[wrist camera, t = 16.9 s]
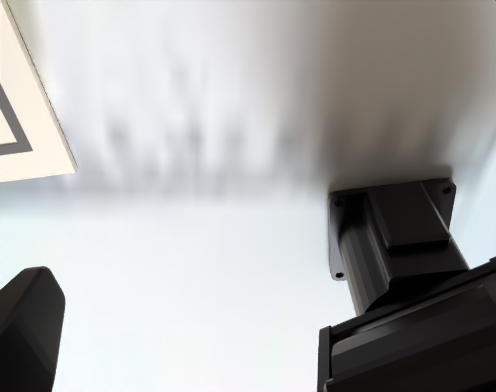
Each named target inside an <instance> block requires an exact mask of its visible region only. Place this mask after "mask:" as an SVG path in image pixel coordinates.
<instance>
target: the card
mask: <svg viewBox="0 0 496 392" xmlns="http://www.w3.org/2000/svg"><path fill="white" fill-rule="evenodd" d="M76 170H77V165H76V163H75V161H74V158H73V156H72V154H71V151H70V149H69V147H68V144H67V142H66V140H65V137H64V135H63V133H62V130H61V128H60V126H59V123H58V121H57V119H56V116H55V114H54V112H53V109H52V107H51V105H50V103H49V100H48V98H47V96H46V93H45V91H44V89H43V86H42V84H41V82H40V79H39V77H38V75H37V72H36V70H35V68H34V65H33V63H32V61H31V58H30V56H29V54H28V51H27V49H26V47H25V44H24V42H23V40H22V37H21V35H20V33H19V30H18V28H17V26H16V23H15V21H14V19H13V16H12V14H11V12H10V9H9V7H8V5H7V3H6V0H0V182H5V181H13V180H21V179H29V178H37V177H45V176H53V175H61V174H68V173H76Z"/></svg>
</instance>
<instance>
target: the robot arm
mask: <svg viewBox="0 0 496 392" xmlns="http://www.w3.org/2000/svg"><path fill="white" fill-rule="evenodd" d="M447 186H448V187H447ZM444 187H447V188H446V189H444V190H442V189H443V188H444ZM455 194H456V185H455V184H454V182H453V181H452V180H451V179H449V178H441V179H433V180H425V181H417V182H408V183H400V184H392V185H383V186H375V187H367V188H359V189H350V190H342V191H336V192H333V193H332V194H330V196H329V197H328V218H329V252H330V273H331V277H332V279H333V280H336V281H344V280H347V282H348V286H349V290H350V294H351V297H352V301H353V305H354V309H355V312H356V316H357V317H354V318H352V319H350V320H347V321H345V322H342V323H340V324H337V325H335V326H333V327H331V326H327V327H325V328H322V329H320V330H319V347H318V381H317V392H496V257H494V258H491V259H489V261H490V262H487V263H485V264H483V265H480V266H478V267H475V268H473V269H470V268H469V266H468V264H467V262H466V261H465V259H464V257H463V255H462V253H461V252H460V250H459V248H458V246H457V244H456V243H455V241H454V239H453V237H452V236H451V234H450V232H449V226H450V221H451V216H452V210H453V205H454V199H455ZM339 199H340V200H341V201H340V202H335V201H336V200H339ZM339 272H341V273H339ZM64 312H65V296H64V293H63V291H62V289H61V288H60V286H59V284H58V282H57V281H56V279H55V277H54V275H53V274H52V272H51V270H50V269H49V268H48V267H45V266H40V267H31V268H26V269H24V270H22V271H21V272H20V273H19V274H18V275H16V276H15V277H14V278H13V279H12V280H11V281H10V282H9V283H8V284H6V285H5V286H4V287H3V288H2V289H1V290H0V392H52V388H53V384H54V379H55V374H56V368H57V361H58V354H59V347H60V340H61V333H62V326H63V319H64Z"/></svg>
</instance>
